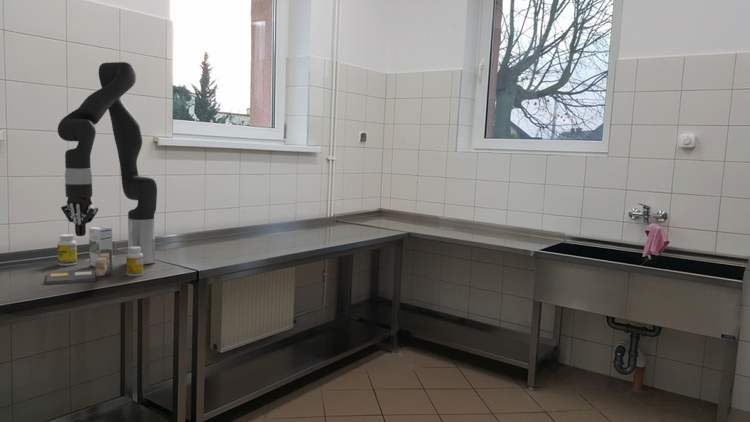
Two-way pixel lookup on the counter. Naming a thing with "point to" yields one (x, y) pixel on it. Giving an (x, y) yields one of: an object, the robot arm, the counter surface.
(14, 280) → the counter surface
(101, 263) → the tan wooden bar
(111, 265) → the pivot post
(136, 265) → the supplement bottle
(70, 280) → the label mat
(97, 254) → the syrup box
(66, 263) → the pill bottle
